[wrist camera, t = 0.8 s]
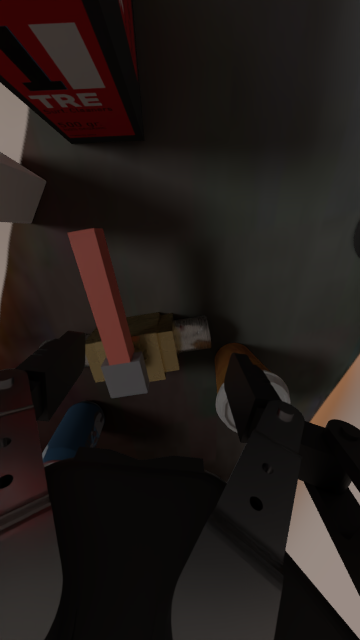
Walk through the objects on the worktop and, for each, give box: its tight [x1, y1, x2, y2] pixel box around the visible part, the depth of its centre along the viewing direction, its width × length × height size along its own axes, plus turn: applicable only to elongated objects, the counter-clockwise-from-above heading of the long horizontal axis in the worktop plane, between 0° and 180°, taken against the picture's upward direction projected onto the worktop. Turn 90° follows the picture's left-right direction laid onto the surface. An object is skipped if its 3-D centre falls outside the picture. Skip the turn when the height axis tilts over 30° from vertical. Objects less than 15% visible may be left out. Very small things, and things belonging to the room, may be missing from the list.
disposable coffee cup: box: [215, 343, 290, 433], centre depth 34 cm, size 10×10×12 cm
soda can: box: [42, 401, 105, 467], centre depth 37 cm, size 7×7×12 cm
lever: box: [68, 228, 150, 398], centre depth 25 cm, size 18×4×3 cm, turn 9°
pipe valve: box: [40, 312, 211, 382], centre depth 33 cm, size 25×7×9 cm, turn 99°
